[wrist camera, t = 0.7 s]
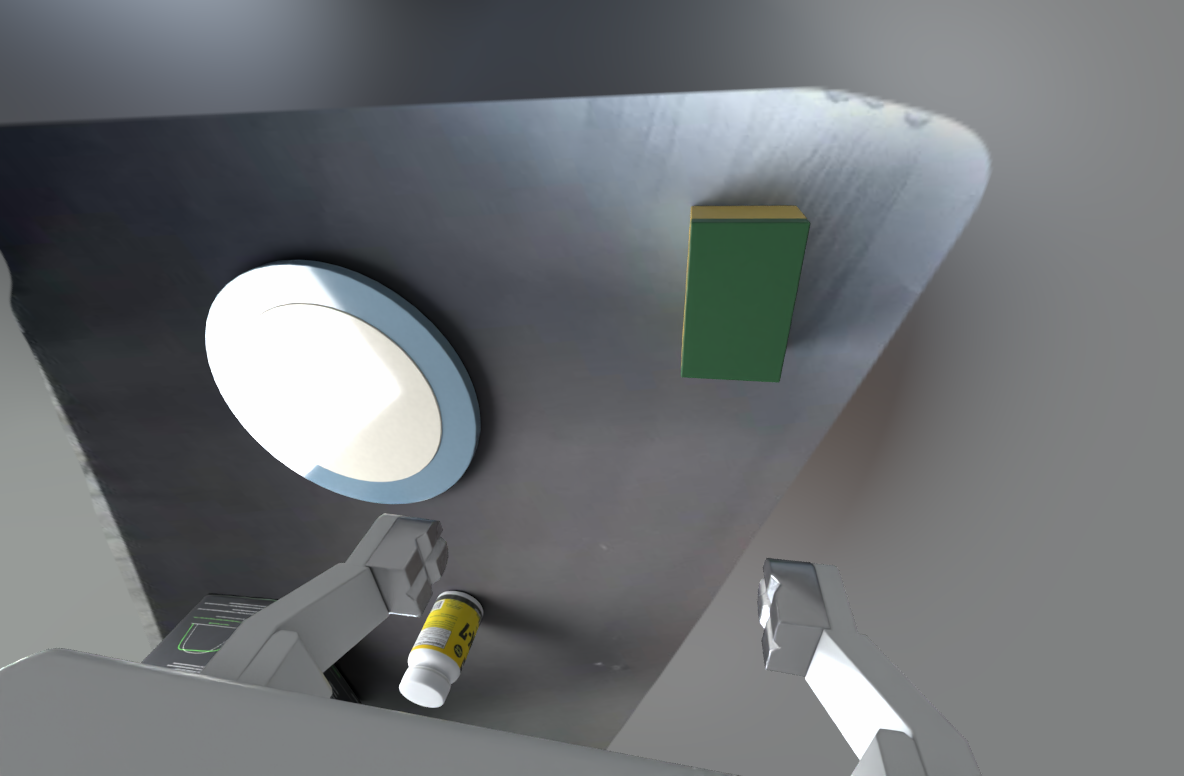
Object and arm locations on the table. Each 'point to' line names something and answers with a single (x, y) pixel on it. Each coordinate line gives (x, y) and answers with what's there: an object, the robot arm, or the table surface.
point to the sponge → (741, 290)
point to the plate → (343, 381)
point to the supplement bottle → (441, 648)
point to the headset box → (220, 638)
